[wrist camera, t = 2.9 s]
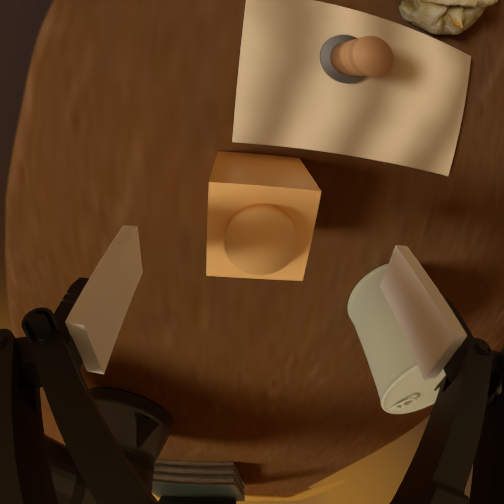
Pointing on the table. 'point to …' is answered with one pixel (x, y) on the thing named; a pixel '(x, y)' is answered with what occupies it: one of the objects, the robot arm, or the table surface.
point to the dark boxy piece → (197, 482)
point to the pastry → (443, 14)
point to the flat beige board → (348, 85)
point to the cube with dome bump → (260, 216)
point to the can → (388, 349)
